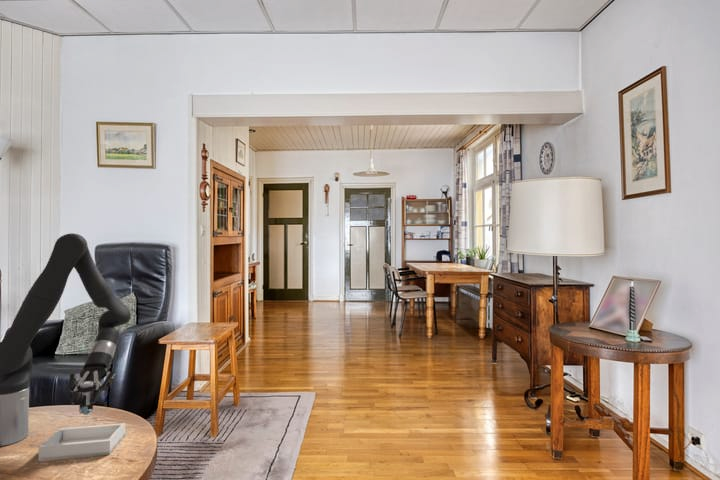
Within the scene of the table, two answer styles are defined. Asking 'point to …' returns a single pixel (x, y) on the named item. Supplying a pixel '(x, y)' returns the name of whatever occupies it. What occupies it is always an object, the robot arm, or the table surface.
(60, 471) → the table surface
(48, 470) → the table surface
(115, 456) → the table surface
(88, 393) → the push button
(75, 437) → the tray
